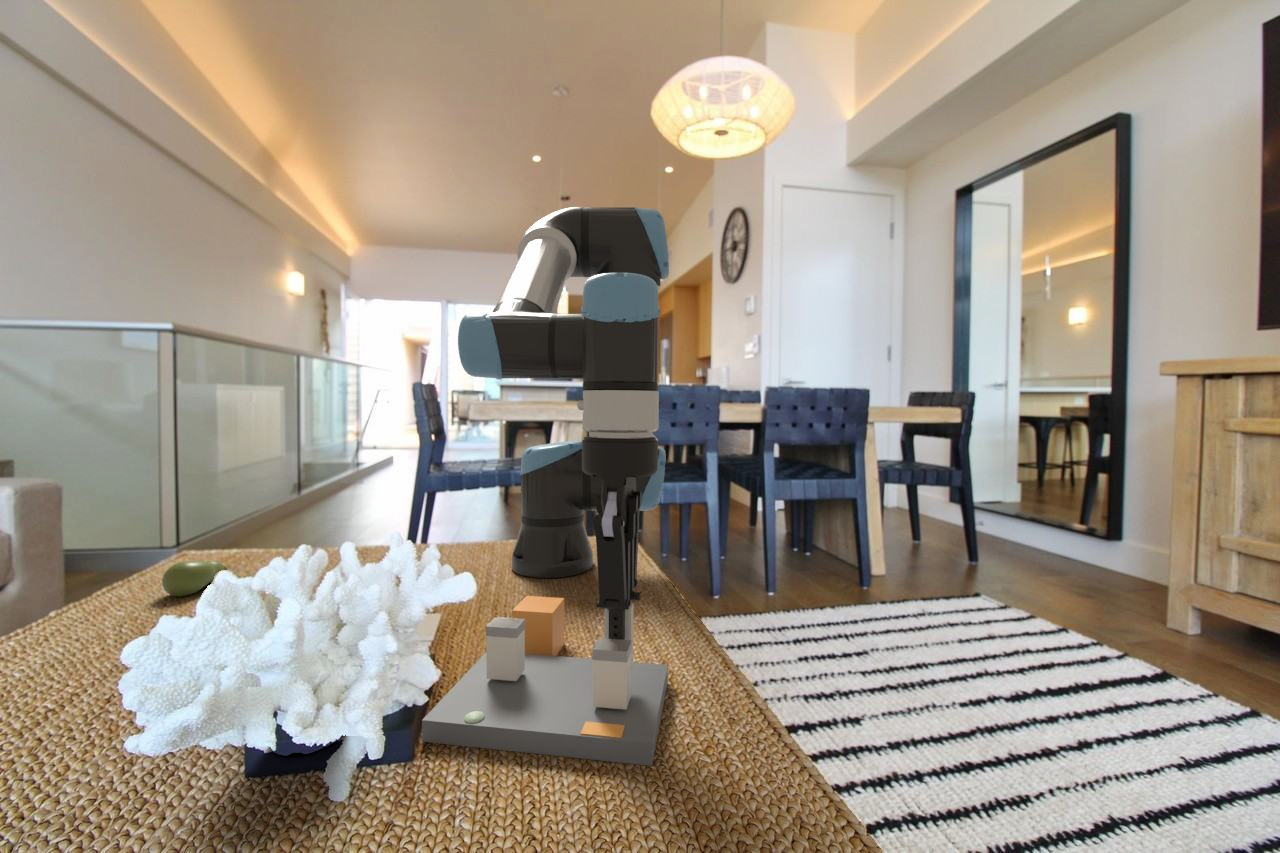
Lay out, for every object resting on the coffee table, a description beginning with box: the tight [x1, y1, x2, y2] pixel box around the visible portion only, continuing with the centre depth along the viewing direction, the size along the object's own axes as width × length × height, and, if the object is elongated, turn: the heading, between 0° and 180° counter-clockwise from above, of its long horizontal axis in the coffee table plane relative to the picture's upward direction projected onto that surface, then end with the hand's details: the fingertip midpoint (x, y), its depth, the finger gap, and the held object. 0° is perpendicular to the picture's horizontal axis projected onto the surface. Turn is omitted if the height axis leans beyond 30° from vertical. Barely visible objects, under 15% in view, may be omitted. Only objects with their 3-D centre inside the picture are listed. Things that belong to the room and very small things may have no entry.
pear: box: [161, 560, 228, 597], centre depth 89 cm, size 6×5×10 cm
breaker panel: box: [421, 652, 669, 767], centre depth 55 cm, size 14×21×2 cm, turn 82°
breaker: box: [485, 616, 525, 681], centre depth 57 cm, size 2×3×6 cm
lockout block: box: [511, 595, 565, 656], centre depth 67 cm, size 5×5×6 cm
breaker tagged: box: [591, 637, 632, 710], centre depth 52 cm, size 2×3×6 cm
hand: (618, 667), depth 55 cm, fingers closed
